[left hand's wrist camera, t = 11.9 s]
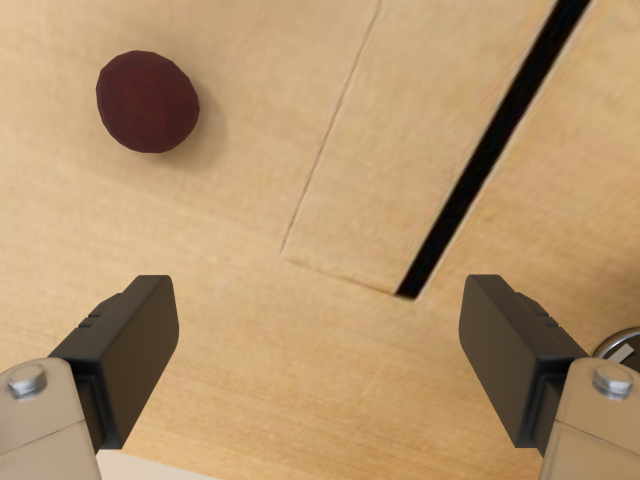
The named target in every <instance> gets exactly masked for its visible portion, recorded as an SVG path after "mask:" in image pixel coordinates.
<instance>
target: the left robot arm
mask: <svg viewBox="0 0 640 480" xmlns="http://www.w3.org/2000/svg"><path fill="white" fill-rule="evenodd" d="M178 338H179V323H178V316H177V309H176V303H175V296H174V289H173V283H172V280H171V278H170V276H168V275H139V276H137V277H136V278H135V279H134V281H133V282H132V283H131V284H130V285H129V286H128V287H127V288H126V289H125V290H124V291H123V292H122V293H117V294H115V295H114V296H112V297H110V298H108V299H107V300H105V301H103V302H101V303H100V304H99V305H98V306H97V307H96V308H95V309H94V310H93V311H92V312H91V313H90V314H89V315H88V318H85V319H84V320H83V321H82V322H81V323H80V324H79V327H78V328H75V329H74V330H73V331H72V332H71V333H70V334H69V335H68V336H67V337H66V338H65V339H64V340H63V341H62V342H61V343H60V344H59V345H58V346H57V347H56V348H55V349H54V350H53V351H52V353H51V354H50V355H49V356H48V357H47V358H39V359H34V360H30V361H27V362H24V363H21V364H18V365H16V366H14V367H11V368H9V369H8V370H6V371H4V372H2V373H1V374H0V480H102V477H101V474H100V470H99V467H98V463H97V460H96V454H97V453H98V451H99V449H122V447H123V445H124V444H125V442H126V440H127V438H128V436H129V434H130V432H131V431H132V429H133V427H134V425H135V423H136V421H137V419H138V418H139V416H140V414H141V412H142V410H143V408H144V406H145V405H146V403H147V401H148V399H149V397H150V395H151V393H152V392H153V390H154V388H155V386H156V384H157V382H158V380H159V379H160V377H161V375H162V373H163V371H164V369H165V367H166V365H167V364H168V362H169V360H170V358H171V356H172V354H173V352H174V351H175V349H176V346H177V343H178ZM459 338H460V343H461V346H462V348H463V350H464V352H465V354H466V356H467V358H468V360H469V361H470V363H471V365H472V367H473V369H474V371H475V373H476V375H477V377H478V378H479V380H480V382H481V384H482V386H483V388H484V390H485V392H486V393H487V395H488V397H489V399H490V401H491V403H492V405H493V407H494V409H495V410H496V412H497V414H498V416H499V418H500V420H501V422H502V424H503V425H504V427H505V429H506V431H507V433H508V435H509V437H510V439H511V441H512V442H513V444H514V446H515V448H537V449H538V450H539V452H540V454H541V455H542V457H543V459H544V460H543V463H542V467H541V470H540V474H539V477H538V480H640V374H639V373H638V372H636V371H634V370H632V369H631V368H629V367H626V366H624V365H622V364H619V363H616V362H613V361H610V360H606V359H601V358H591V357H590V356H589V355H588V354H587V353H586V352H585V351H584V350H583V349H582V348H581V347H580V346H579V345H578V344H577V343H576V342H575V341H574V340H573V339H572V338H571V337H570V336H569V334H568V333H567V332H566V331H565V330H564V329H563V328H562V327H559V326H558V323H557V322H556V321H555V320H554V319H553V318H552V317H549V314H548V313H547V312H546V311H545V310H544V309H543V308H542V307H541V306H540V305H539V304H538V303H537V302H536V301H534V300H532V299H530V298H528V297H527V296H525V295H523V294H521V293H520V292H515V291H514V290H513V289H512V288H511V287H510V286H509V285H508V284H507V283H506V282H505V280H504V279H503V278H502V277H501V276H500V275H469V276H468V277H467V279H466V282H465V287H464V294H463V301H462V308H461V314H460V321H459Z"/></svg>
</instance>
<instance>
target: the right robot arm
mask: <svg viewBox="0 0 640 480" xmlns="http://www.w3.org/2000/svg"><path fill="white" fill-rule="evenodd" d="M592 358H601V359H606V360H610V361H613V362H616V363H619V364H622V365H624V366H626V367H629V368H631V369H632V370H634V371H636V372H638V373H639V374H640V327H638V328H632V329H628V330H625V331H622V332H620V333H618V334H616V335H614V336H612V337H611V338H609V339H608V340H607V341H605V342H604V343H603V344H602V345H601V346H600V347H599V348H598V349H597V351H596V352H595V354H594V355H593V357H592Z"/></svg>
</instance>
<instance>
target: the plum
mask: <svg viewBox="0 0 640 480" xmlns="http://www.w3.org/2000/svg"><path fill="white" fill-rule="evenodd" d="M96 95H97V104H98V110H99V113H100V116H101V119H102V122H103V124H104V126H105V127H106V129H107V130H108V132H109V133H110V135H111V136H112V137H113V138H115V139H116V140H117V141H118V142H119V143H120V144H122V145H123V146H125V147H127V148H129V149H131V150H134V151H138V152H142V153H162V152H165V151H168V150H171V149H173V148H174V147H176V146H177V145H178V144H180V143H181V142H183V141H184V140H185V139H186V137H187V136H188V135H189V134H190V133H191V132H192V130H193V128H194V126H195V124H196V123H197V120H198V115H199V110H200V109H199V103H198V96H197V94H196V92H195V90H194V88H193V86H192V84H191V82H190V80H189V78H188V77H187V76H186V75H185V74H184V73H183V72H182V71H181V70H180V69H179V68H178V67H177V66H176V65H175V64H174V63H173V62H172V61H170V60H168V59H166V58H164V57H162V56H160V55H158V54H156V53H154V52H146V51H138V50H137V51H130V52H127V53H124V54H121V55H118V56H116V57H115V58H114V59H112V60H111V61H110V62H109V63H108V64H107V65H106V66H105V67H104V68H103V69H102V70H101V72H100V75H99V79H98V82H97V86H96Z"/></svg>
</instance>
